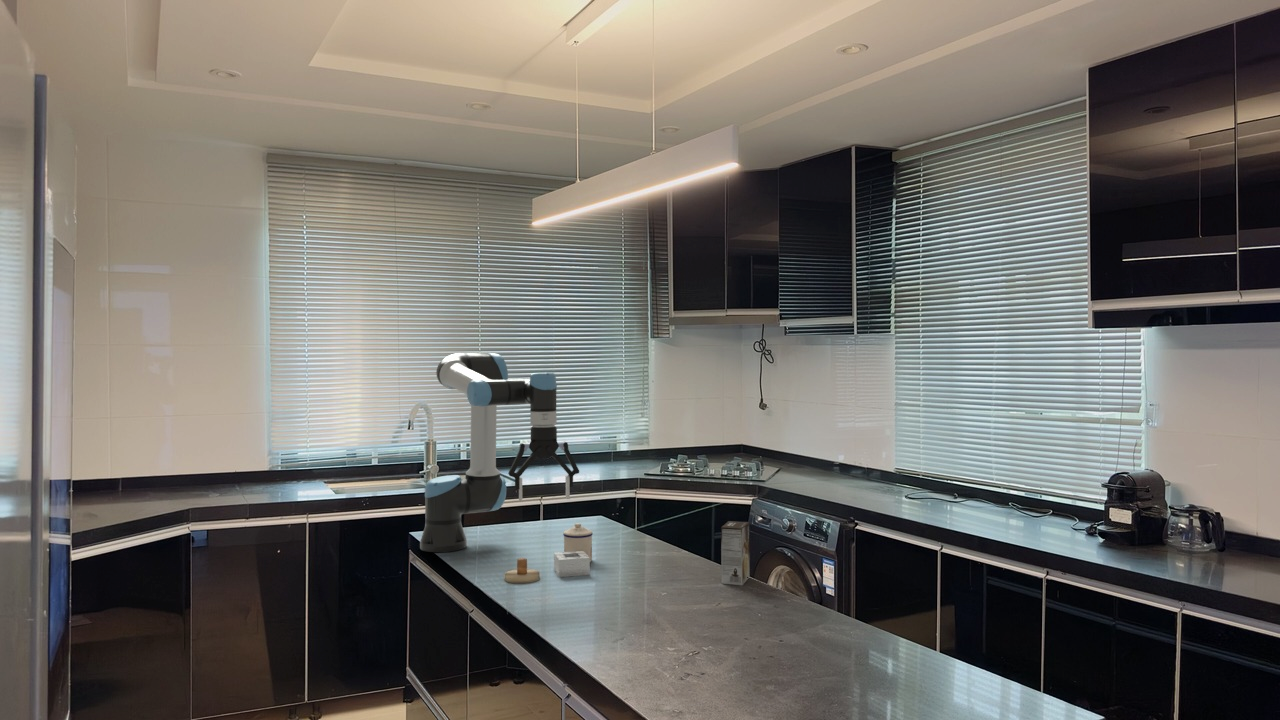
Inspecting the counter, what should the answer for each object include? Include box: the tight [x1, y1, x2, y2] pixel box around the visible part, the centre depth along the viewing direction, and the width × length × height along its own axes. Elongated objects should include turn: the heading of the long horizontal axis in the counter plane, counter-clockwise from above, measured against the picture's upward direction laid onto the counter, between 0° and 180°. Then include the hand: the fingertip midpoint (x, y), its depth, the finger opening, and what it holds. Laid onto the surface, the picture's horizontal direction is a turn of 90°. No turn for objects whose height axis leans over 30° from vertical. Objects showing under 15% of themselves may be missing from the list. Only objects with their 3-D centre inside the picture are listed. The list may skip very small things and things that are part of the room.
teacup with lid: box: [562, 522, 593, 563], centre depth 265 cm, size 12×9×12 cm
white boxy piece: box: [553, 551, 591, 578], centre depth 251 cm, size 9×9×5 cm
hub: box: [504, 557, 541, 584], centre depth 244 cm, size 10×10×6 cm
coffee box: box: [720, 520, 751, 586], centre depth 241 cm, size 9×6×16 cm
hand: (544, 499), depth 245 cm, fingers open, 13 cm apart
